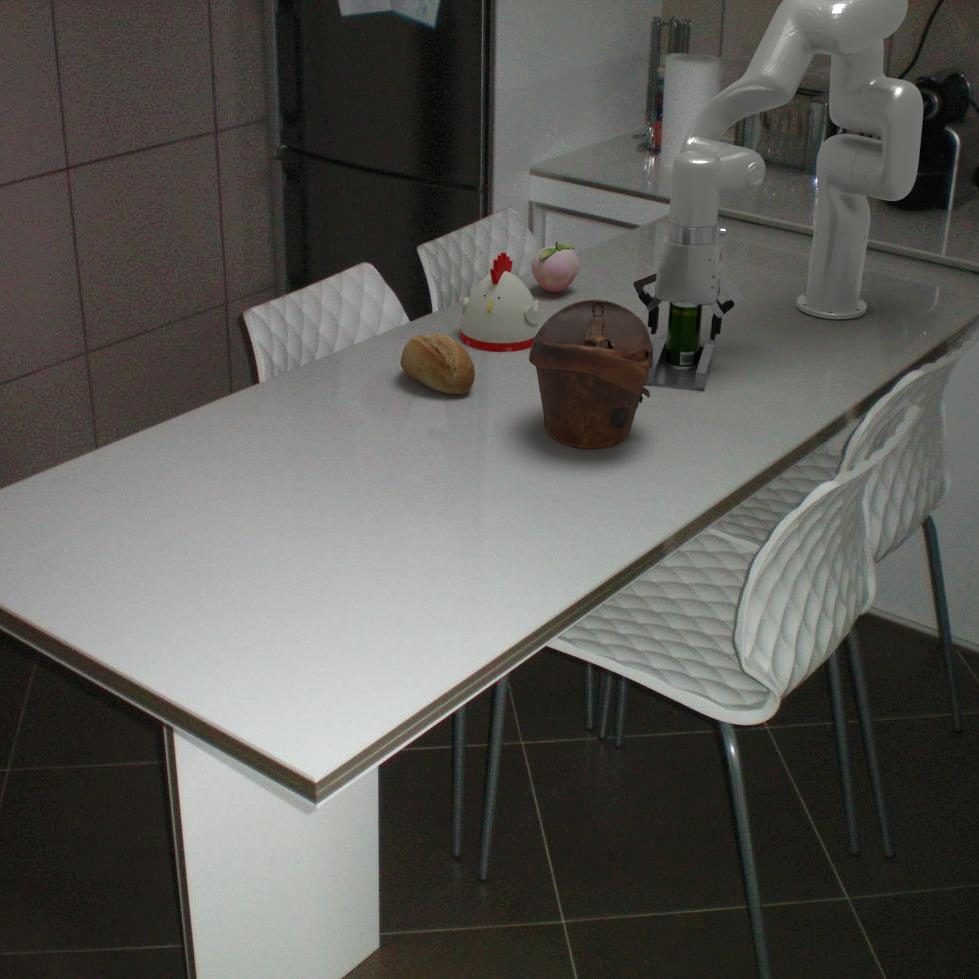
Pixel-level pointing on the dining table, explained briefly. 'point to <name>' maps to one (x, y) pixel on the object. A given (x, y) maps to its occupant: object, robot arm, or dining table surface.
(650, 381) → the grey tray
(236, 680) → the dining table surface
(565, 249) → the decorative fruit
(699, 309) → the beer can
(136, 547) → the dining table surface
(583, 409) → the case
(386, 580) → the dining table surface
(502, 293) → the kitchen timer
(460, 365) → the bread roll
